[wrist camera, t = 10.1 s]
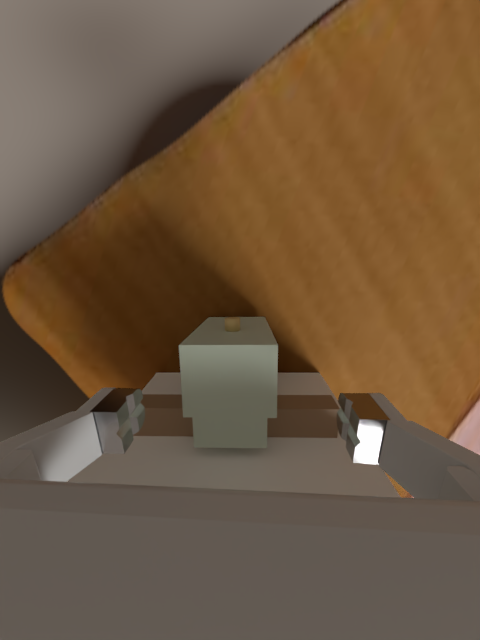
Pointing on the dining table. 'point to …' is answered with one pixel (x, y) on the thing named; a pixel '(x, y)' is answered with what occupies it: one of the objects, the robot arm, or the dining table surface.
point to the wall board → (243, 463)
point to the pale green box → (230, 381)
